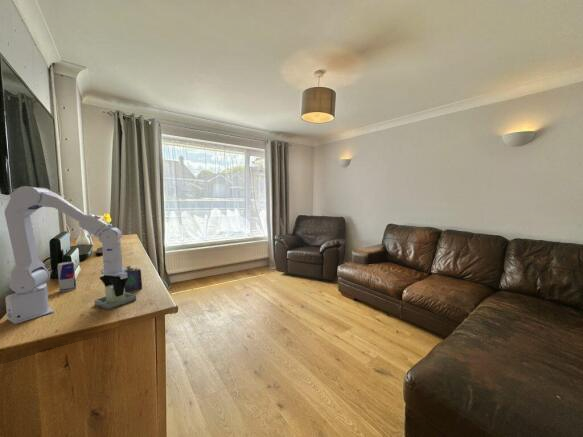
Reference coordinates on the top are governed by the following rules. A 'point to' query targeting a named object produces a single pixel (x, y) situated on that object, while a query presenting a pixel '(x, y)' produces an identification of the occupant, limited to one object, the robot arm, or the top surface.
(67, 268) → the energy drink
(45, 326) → the top surface
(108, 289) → the green block
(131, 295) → the dish
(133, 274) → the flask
